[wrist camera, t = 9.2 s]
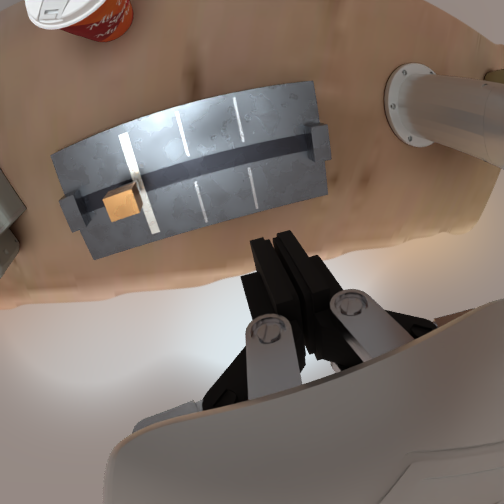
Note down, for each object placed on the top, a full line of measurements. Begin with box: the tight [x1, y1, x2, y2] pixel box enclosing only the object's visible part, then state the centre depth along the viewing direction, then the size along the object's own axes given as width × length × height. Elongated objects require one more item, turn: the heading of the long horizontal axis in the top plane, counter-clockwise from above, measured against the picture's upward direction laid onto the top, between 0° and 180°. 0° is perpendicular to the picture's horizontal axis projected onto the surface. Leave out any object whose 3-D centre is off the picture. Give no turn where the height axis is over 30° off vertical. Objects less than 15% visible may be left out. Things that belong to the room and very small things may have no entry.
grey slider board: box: [51, 81, 331, 260], centre depth 30 cm, size 30×14×4 cm, turn 101°
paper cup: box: [25, 0, 133, 42], centre depth 15 cm, size 8×8×14 cm
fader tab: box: [103, 180, 143, 222], centre depth 27 cm, size 3×2×5 cm
